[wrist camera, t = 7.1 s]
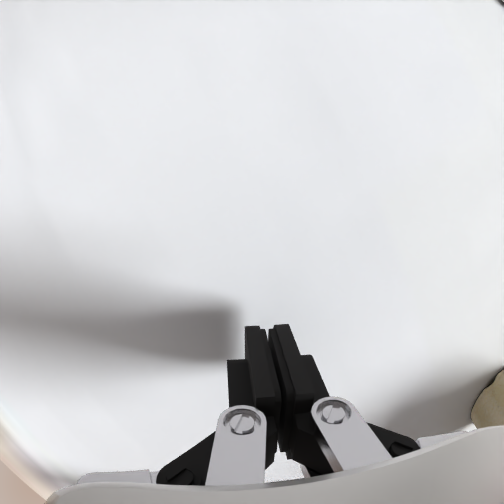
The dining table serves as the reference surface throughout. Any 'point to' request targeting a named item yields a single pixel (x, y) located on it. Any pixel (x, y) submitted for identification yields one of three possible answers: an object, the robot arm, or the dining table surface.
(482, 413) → the flower pot
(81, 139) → the dining table surface
